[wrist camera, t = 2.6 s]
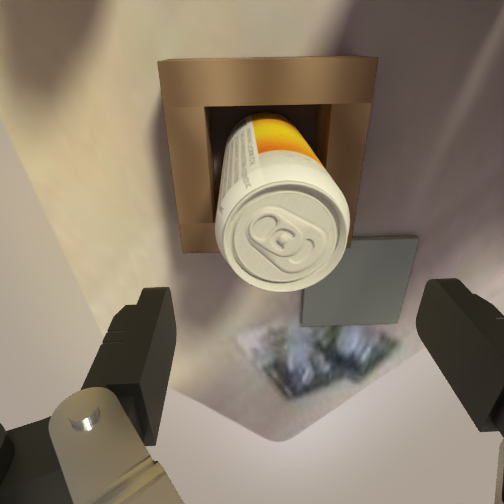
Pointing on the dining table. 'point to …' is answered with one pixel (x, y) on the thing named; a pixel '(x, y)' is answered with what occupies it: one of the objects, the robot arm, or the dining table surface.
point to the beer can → (278, 207)
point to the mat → (363, 284)
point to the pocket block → (261, 93)
